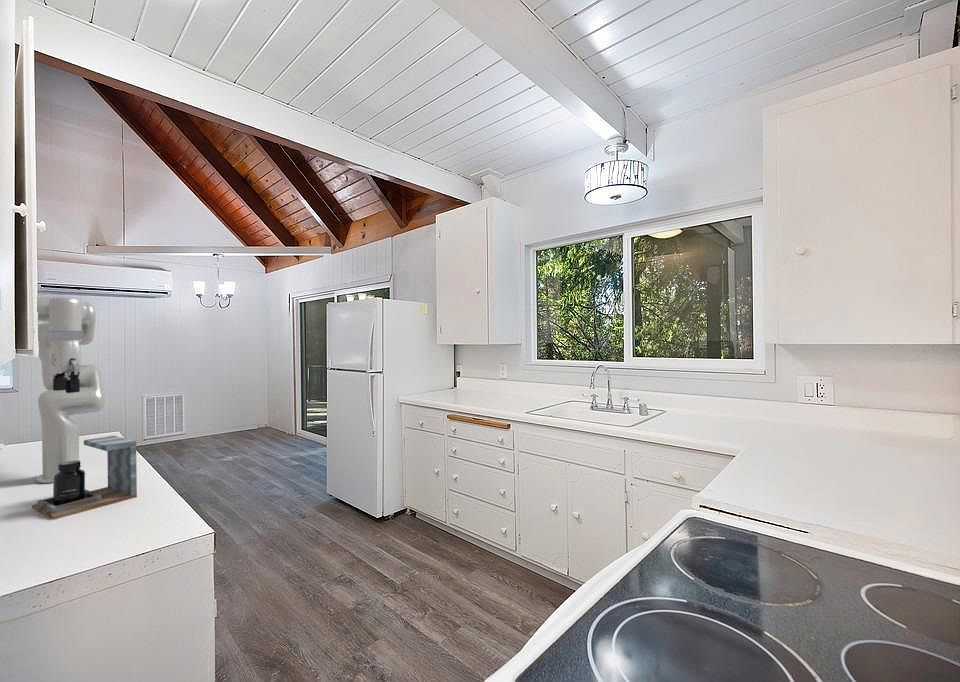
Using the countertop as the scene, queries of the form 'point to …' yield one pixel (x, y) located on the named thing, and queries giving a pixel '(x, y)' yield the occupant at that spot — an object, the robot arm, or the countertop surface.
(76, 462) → the supplement bottle
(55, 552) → the countertop surface
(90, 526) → the countertop surface
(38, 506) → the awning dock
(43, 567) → the countertop surface
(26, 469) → the countertop surface
